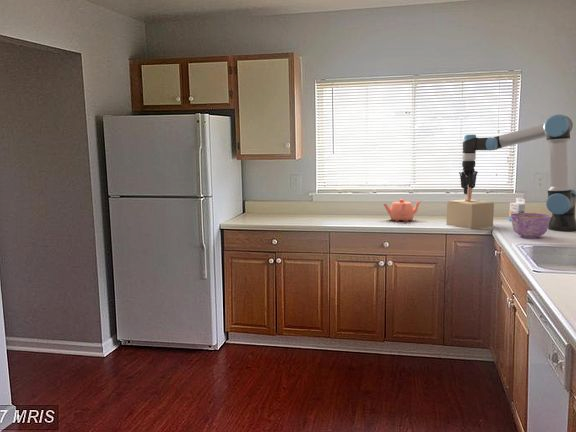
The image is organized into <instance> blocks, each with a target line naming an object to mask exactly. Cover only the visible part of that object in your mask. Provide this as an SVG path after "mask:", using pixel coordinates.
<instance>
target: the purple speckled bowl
mask: <svg viewBox="0 0 576 432" xmlns="http://www.w3.org/2000/svg"><path fill="white" fill-rule="evenodd" d="M510 216H511V221H510V222H511V225H512V229H513V231H514V232H515V233H516V234H517V235H519V236H520V237H521V238H526V239H537V238H538V237H542V235H545V234H546V232H548V230H549V229H548V226H549V223H550V220H551V217H552V215H550V214H545V213H544V214H543V213H534V212H524V213H514V214H511V215H510Z"/></svg>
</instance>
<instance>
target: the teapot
mask: <svg viewBox="0 0 576 432" xmlns="http://www.w3.org/2000/svg"><path fill="white" fill-rule="evenodd" d="M421 202H422V200H419V201H417V202H416V203H415V206H414V208H413V204H412V202H411V201H405V199H404V198H403V199H402V198H400V199H399V201H392V203H391V206H390V207H389V205H388V204H387V203H384V204H383V207H384V208H385V209H386V212H387V213H388V215H389V217H390V219H391V220H393V221H394V222H400V221H404V222H405V223H406V222H410V221H412V220H413V219H414V217H415V214H416V213H417V212H418V210H419V205H420V203H421Z"/></svg>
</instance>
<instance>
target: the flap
mask: <svg viewBox="0 0 576 432" xmlns="http://www.w3.org/2000/svg"><path fill="white" fill-rule="evenodd" d="M468 189H469V200H466V199H455V200H447V202H456V203H461V202H473V201H481V200H480V199H473V198H472V194H471V188H468Z"/></svg>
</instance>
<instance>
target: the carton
mask: <svg viewBox="0 0 576 432" xmlns="http://www.w3.org/2000/svg"><path fill="white" fill-rule="evenodd" d="M494 210H495V203H494V202H493V201H485V200H480V201H473V202H461V203H456V202H448V201H447V202H446V221H445V223H446V225H448V226H454V227H458V228H465V229H470V230H472V229H480V228H482V229H483V228H490V227H494V215H495V214H494V212H495V211H494Z"/></svg>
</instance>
